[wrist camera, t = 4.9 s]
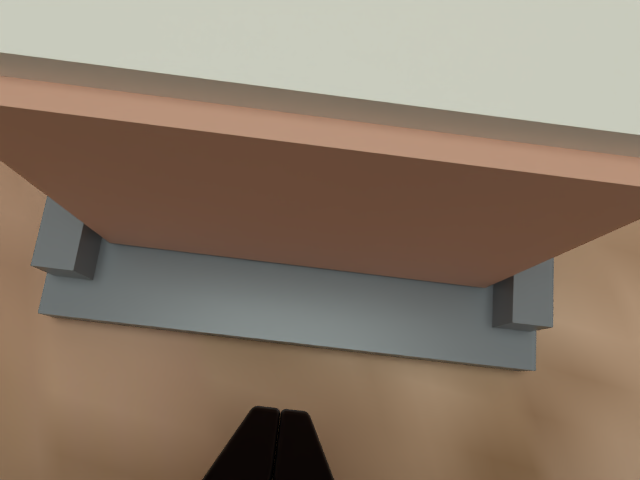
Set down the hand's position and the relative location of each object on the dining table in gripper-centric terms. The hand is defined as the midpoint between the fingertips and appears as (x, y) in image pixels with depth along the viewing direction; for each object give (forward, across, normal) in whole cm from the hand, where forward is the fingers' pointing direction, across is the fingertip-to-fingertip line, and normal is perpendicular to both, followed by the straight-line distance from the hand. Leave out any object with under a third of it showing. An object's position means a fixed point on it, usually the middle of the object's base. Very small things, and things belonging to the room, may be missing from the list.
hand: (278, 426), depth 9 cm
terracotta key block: (+9, 0, -1) cm, 9 cm away
